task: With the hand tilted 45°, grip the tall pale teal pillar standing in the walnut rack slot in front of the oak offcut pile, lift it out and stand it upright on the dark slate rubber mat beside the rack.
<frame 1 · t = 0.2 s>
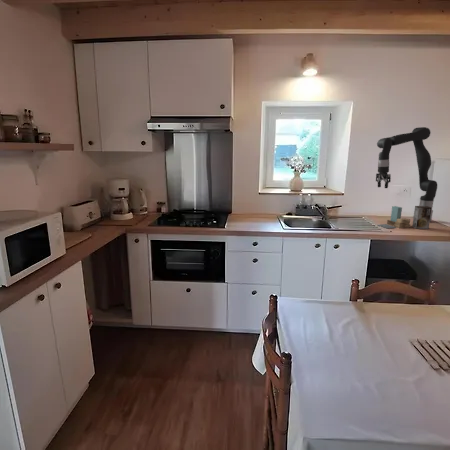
hand: (382, 187, 245), 28 cm above the table, tool pointing down, fingers open, 8 cm apart
pale teal pillar: (394, 224, 250), resting in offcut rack
slate mat: (386, 226, 243), on the table
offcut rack: (394, 224, 250), on the table
coffee box: (420, 228, 241), on the table
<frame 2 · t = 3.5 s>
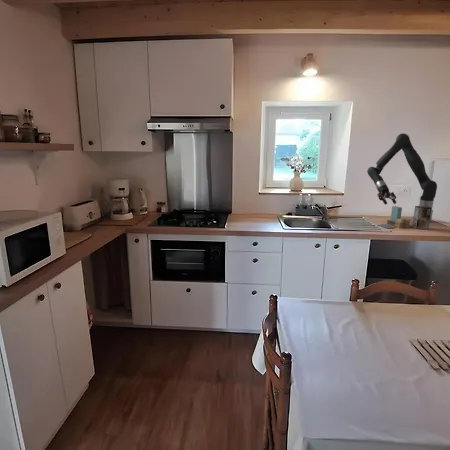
hand: (390, 203, 253), 15 cm above the table, tool tilted 45°, fingers open, 8 cm apart
nothing on the table moved.
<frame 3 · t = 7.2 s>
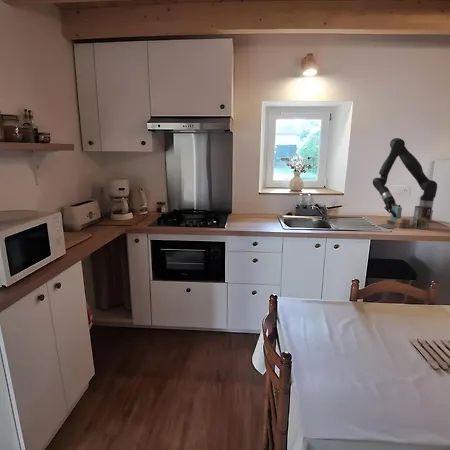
hand: (397, 216, 247), 7 cm above the table, tool tilted 45°, fingers closed on pale teal pillar, 3 cm apart
pale teal pillar: (394, 224, 250), resting in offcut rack, touching gripper
everything else where it was.
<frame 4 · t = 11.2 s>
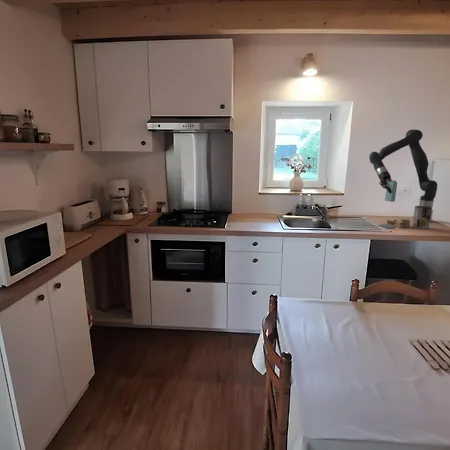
hand: (393, 192, 236), 26 cm above the table, tool tilted 45°, fingers closed on pale teal pillar, 3 cm apart
pale teal pillar: (389, 201, 239), point 20 cm above the table, touching gripper
everything else where it was.
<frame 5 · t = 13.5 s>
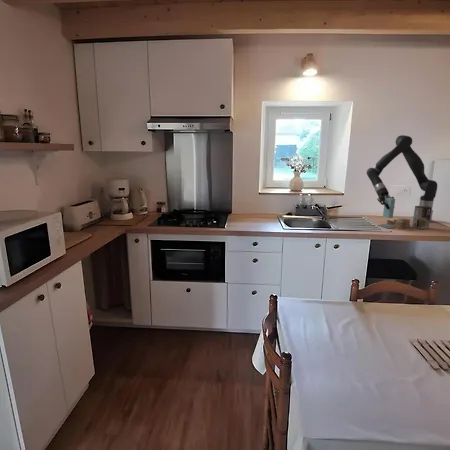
hand: (391, 208, 238), 14 cm above the table, tool tilted 45°, fingers closed on pale teal pillar, 3 cm apart
pale teal pillar: (387, 217, 242), point 8 cm above the table, touching gripper
everything else where it was.
when the fingers open (8 cm above the table, at t = 15.5 s): pale teal pillar stays where it is, resting on slate mat.
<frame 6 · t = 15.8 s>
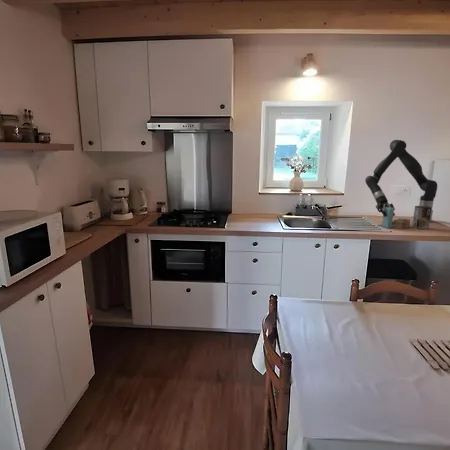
hand: (389, 216, 240), 9 cm above the table, tool tilted 45°, fingers open, 6 cm apart
pale teal pillar: (386, 226, 243), point 1 cm above the table, touching slate mat
everything else where it was.
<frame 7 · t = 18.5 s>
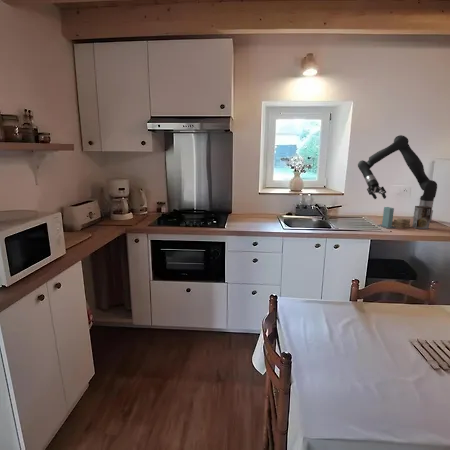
hand: (380, 198, 248), 20 cm above the table, tool tilted 45°, fingers open, 8 cm apart
nothing on the table moved.
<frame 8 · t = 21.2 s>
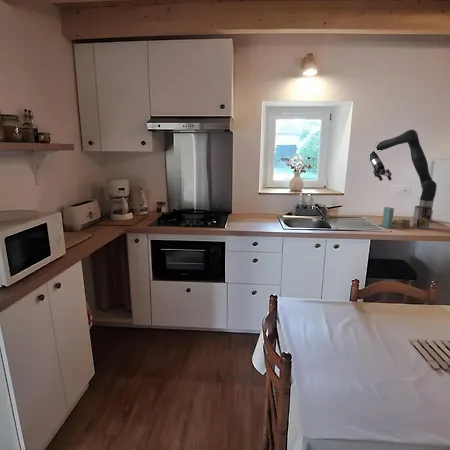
hand: (386, 180, 258), 33 cm above the table, tool tilted 45°, fingers open, 8 cm apart
nothing on the table moved.
at the end: pale teal pillar 0.1 cm off-centre on the slate mat, point 0.6 cm above the slate mat's base; pale teal pillar tilted 0°; the gripper is holding nothing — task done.
